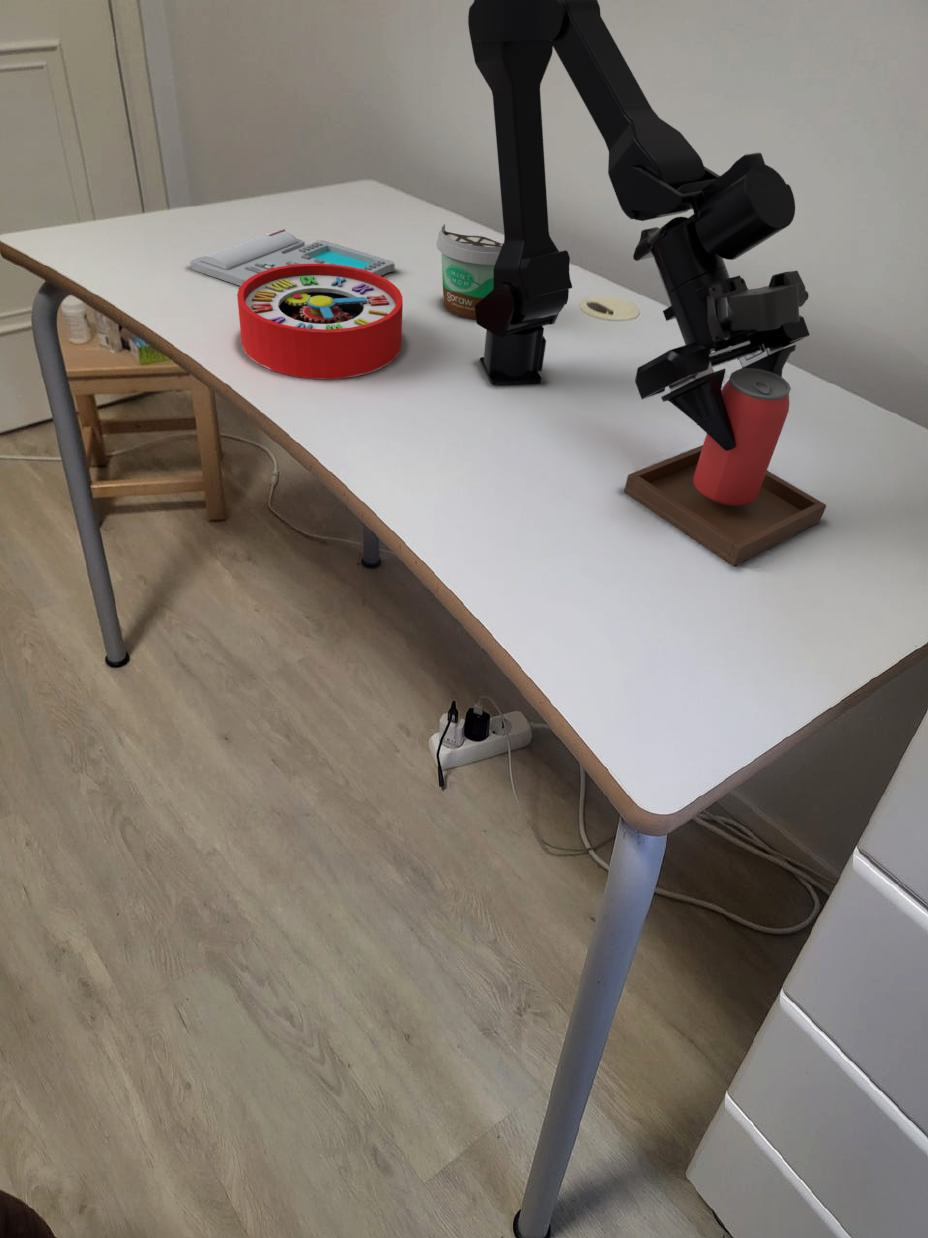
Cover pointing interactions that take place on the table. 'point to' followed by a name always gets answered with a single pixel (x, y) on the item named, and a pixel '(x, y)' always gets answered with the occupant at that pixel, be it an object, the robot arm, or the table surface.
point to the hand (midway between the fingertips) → (754, 439)
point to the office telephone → (282, 257)
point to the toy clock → (320, 320)
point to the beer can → (744, 438)
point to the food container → (466, 270)
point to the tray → (724, 509)
